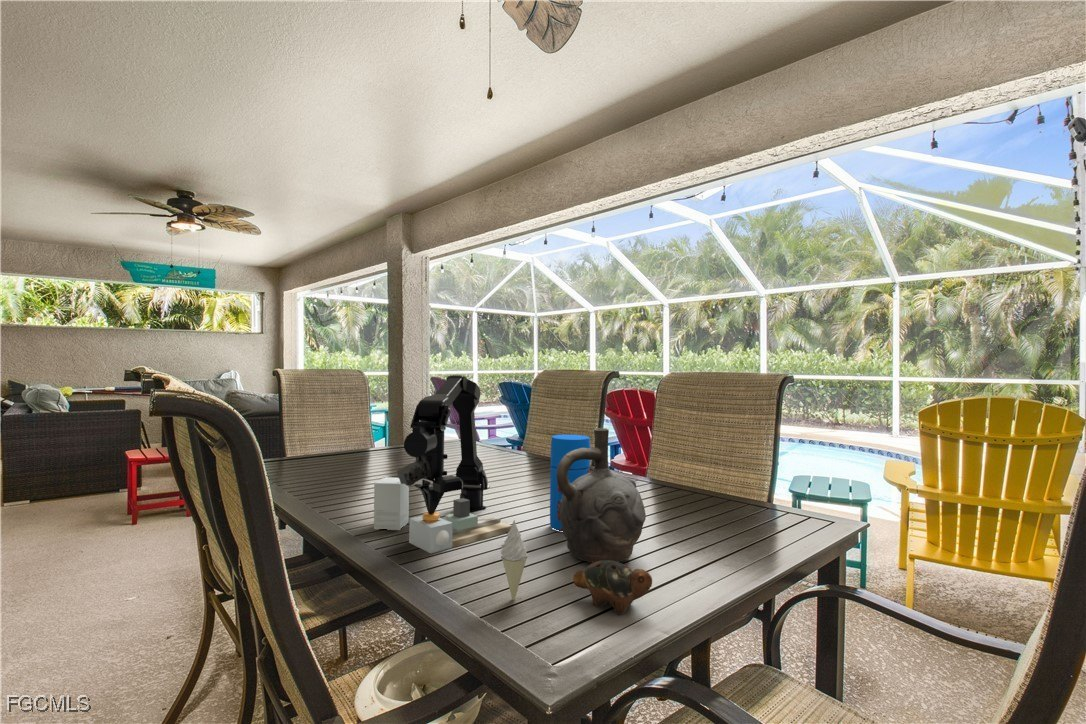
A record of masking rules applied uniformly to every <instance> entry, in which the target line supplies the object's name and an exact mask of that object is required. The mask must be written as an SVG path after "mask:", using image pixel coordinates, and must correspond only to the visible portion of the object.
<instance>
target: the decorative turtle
mask: <svg viewBox="0 0 1086 724" xmlns="http://www.w3.org/2000/svg"><path fill="white" fill-rule="evenodd" d="M572 580H573V584H574V586H575V587H577V588H580V589H585V590H588V591H589V592H590V595H591V598H592V603H593V605H594V606H595V607H597V608H600V607H603V606H605V605H606V604H607V603H609V604H610V605H611V606H612V608H613V609H614V612H615V613H616V614H617V613H618V615H623V614H624V613H625V612H626V611H627V609H628V607H629V606H630V605H631V604H632V603H633V602H634V601H636V600H638V599H640V598H642V597H643V596H645V595H646V594H647V593H648V592H649V591H650V590H651V588H652V585H653V578H652V576H651V574H650V573H649V572H648V571H646V570H645V569H643V568H636V569H634V570H632V568H630V567H629V566H628V565H626V564H624V563H621V562H620V561H619V562H616V561H611V560H602V561H597V562H594V563H592V562H591V563H590V565H588V566H587V567H585V569H584V570H577V571H575V572H574V573H573V579H572ZM629 604H630V605H629Z"/></svg>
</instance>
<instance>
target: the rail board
mask: <svg viewBox="0 0 1086 724" xmlns="http://www.w3.org/2000/svg"><path fill="white" fill-rule="evenodd" d="M501 519H502V518H501V517H499V516H494V517H485V518H481V519H478V526H475V527H471V528H467V529H463V530H459V531H458V530H456V529H453V532H452V548H456V547H460V546H463V545H466V544H467V545H468V544H469V543H470V544H471V543H475V542H478V541H481V540H485V539H488V538H491V537H492V538H493V537H496V536H499V534H500V535H503V533H504V534H506V532H507V533H508V532H509V531H510V529H511V527H512V524H508V523H505V522H504V521H503V522H502V520H501Z"/></svg>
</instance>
